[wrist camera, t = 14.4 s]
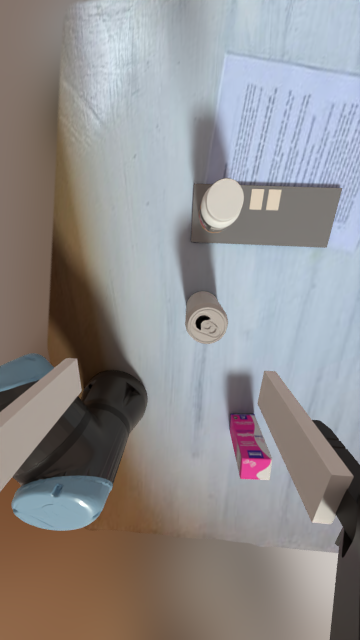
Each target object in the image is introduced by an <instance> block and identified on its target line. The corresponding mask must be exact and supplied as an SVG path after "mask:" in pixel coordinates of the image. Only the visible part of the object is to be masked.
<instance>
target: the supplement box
mask: <svg viewBox="0 0 360 640" xmlns="http://www.w3.org/2000/svg"><path fill="white" fill-rule="evenodd" d="M230 434H231V438H232V443H233V447H234V452H235V456H236V461H237V465H238V470H239V475H240V478H241V479H259V480H270V471H271V464H272V457H271V455H270V452H269V450H268V447H267V445H266V442H265V440H264V437H263V435H262V432H261V430H260V427H259V425H258V423H257V420H256V417H255V415H254V414H231V420H230Z"/></svg>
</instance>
